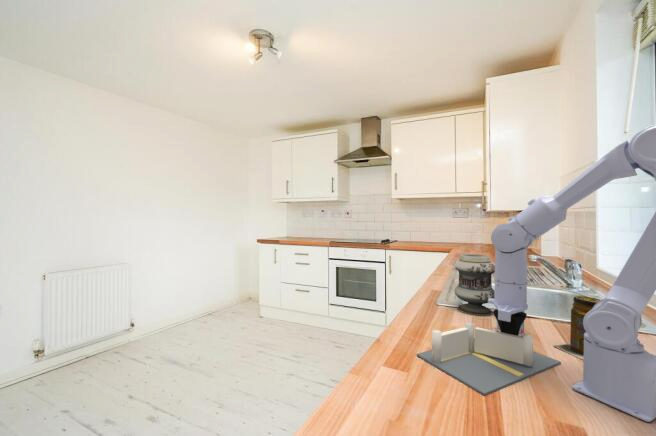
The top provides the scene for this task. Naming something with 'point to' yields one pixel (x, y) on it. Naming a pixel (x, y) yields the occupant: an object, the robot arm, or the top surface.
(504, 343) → the fence panel
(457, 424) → the top surface
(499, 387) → the board
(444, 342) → the fixed fence section
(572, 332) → the condiment
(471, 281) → the apothecary jar
